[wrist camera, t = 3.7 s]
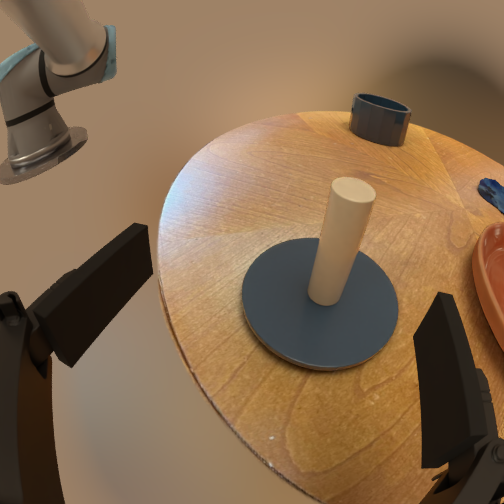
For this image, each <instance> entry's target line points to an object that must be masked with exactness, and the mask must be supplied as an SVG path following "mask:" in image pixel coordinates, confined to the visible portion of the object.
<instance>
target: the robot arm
mask: <svg viewBox="0 0 504 504" xmlns="http://www.w3.org/2000/svg"><path fill="white" fill-rule="evenodd" d="M0 9H2V11H3V12H4V13H5V14H6V15H7V16H8V17H10V19H12V20H13V21H14V23H15V24H16V25H17V26H18V27H19V28H20V29H21V30H22V31H23V32H24V33H26V34H27V36H28V37H30V38H31V39H32V40H33V41H34V42H35V43H34V44H32V45H29V46H28V47H26V48H23V49H21V50H20V51H18V52H17V53H14V54H13V55H11V56H10V57H8V58H7V59H6V60H4V61H3V62H2V63H1V64H0V102H1V106H2V110H3V114H4V118H5V122H6V125H7V129H8V160H9V163H10V165H11V167H13V168H18V167H22V166H26V165H29V164H31V163H34V162H36V161H38V160H40V159H42V158H44V157H46V156H48V155H50V154H51V153H53V152H55V151H56V150H58V149H59V148H61V147H62V146H63V145H64V144H66V143H67V142H68V140H69V139H70V132H69V128H68V127H67V125H66V124H65V122H64V121H63V119H62V117H61V116H60V114H59V113H58V111H57V109H56V107H55V103H54V98H53V97H54V96H57V95H60V94H63V93H66V92H69V91H72V90H75V89H78V88H82V87H85V86H89V85H92V84H96V83H102V82H103V81H106V80H109V79H112V78H113V77H114V76H115V75H116V29H115V26H113V25H110V26H108V25H106V26H102V24H101V23H99V22H98V21H96V20H94V19H90V17H89V15H88V13H87V10H86V8H85V6H84V3H83V1H82V0H0ZM152 274H153V268H152V261H151V253H150V245H149V235H148V226H147V225H143V224H138V223H133V224H132V225H131V226H129V227H128V228H127V229H126V230H124V231H123V232H122V233H121V234H119V235H118V236H117V237H115V238H114V239H113V240H112V241H110V242H109V243H108V244H107V245H105V246H104V247H103V248H102V249H100V250H99V251H98V252H97V253H96V254H94V255H93V256H92V257H91V258H90V259H88V260H87V261H86V262H85V263H84V264H82V265H81V266H80V267H79V268H78V269H74V270H72V271H70V272H68V273H66V274H64V275H63V276H62V277H61V278H60V279H58V280H57V281H56V283H54V284H53V285H52V286H51V287H50V289H47V290H46V291H45V292H44V293H43V294H42V295H41V296H40V297H39V298H37V299H36V300H35V301H34V302H33V303H32V304H31V305H30V306H29V307H28V308H27V309H26V310H25V308H24V306H23V304H22V302H21V300H20V298H19V296H18V294H17V293H16V292H13V291H8V292H5V293H3V294H1V295H0V504H65V501H64V497H63V492H62V487H61V482H60V477H59V471H58V464H57V457H56V450H55V440H54V428H53V412H52V358H51V356H50V355H51V353H52V352H53V351H54V352H55V354H56V356H57V357H58V359H59V360H60V361H61V362H63V363H64V364H66V365H67V366H69V367H70V368H72V367H73V366H74V365H75V364H76V362H77V361H78V360H79V359H80V357H81V356H82V355H83V354H84V353H85V351H86V350H87V349H88V348H89V347H90V345H91V344H92V343H93V342H94V340H95V339H96V338H97V337H98V336H99V334H100V333H101V332H102V331H103V330H104V329H105V327H106V326H107V325H108V324H109V323H110V322H111V320H112V319H113V318H114V317H115V316H116V315H117V314H118V312H119V311H120V310H121V309H122V308H123V307H124V306H125V304H126V303H127V302H128V301H129V300H130V299H131V297H132V296H133V295H134V294H135V293H136V292H137V291H138V290H139V289H140V288H141V286H142V285H143V284H144V283H145V282H146V281H147V280H148V279H149V278H150V277H151V275H152ZM413 340H414V347H415V354H416V362H417V371H418V380H419V391H420V405H421V427H422V466H421V469H423V468H439V467H441V466H442V465H444V464H446V463H447V462H448V469H447V470H445V471H443V472H441V473H440V474H438V475H436V476H435V477H433V478H432V479H431V480H432V481H434V480H436V479H438V478H439V479H438V481H437V482H436V483H435V485H434V486H433V487H432V488H431V490H430V491H429V492H428V493H427V495H426V496H425V497H424V498H423V499H422V501H421V502H420V503H419V504H500V501H501V498H502V497H504V440H503V439H502V438H499V437H498V432H497V425H496V419H495V413H494V408H493V403H491V401H492V398H491V393H489V392H490V389H489V385H488V380H487V378H486V376H485V375H484V373H483V371H482V370H481V369H478V368H475V364H474V360H473V356H472V353H471V349H470V346H469V342H468V339H467V336H466V333H465V330H464V326H463V323H462V320H461V317H460V315H459V312H458V309H457V306H456V303H455V301H454V298H453V295H451V294H447V293H442V292H438V293H437V295H436V297H435V299H434V301H433V303H432V305H431V306H430V308H429V310H428V312H427V314H426V315H425V317H424V319H423V321H422V322H421V324H420V326H419V327H418V329H417V331H416V332H415V334H414V336H413ZM502 504H504V503H502Z"/></svg>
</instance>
